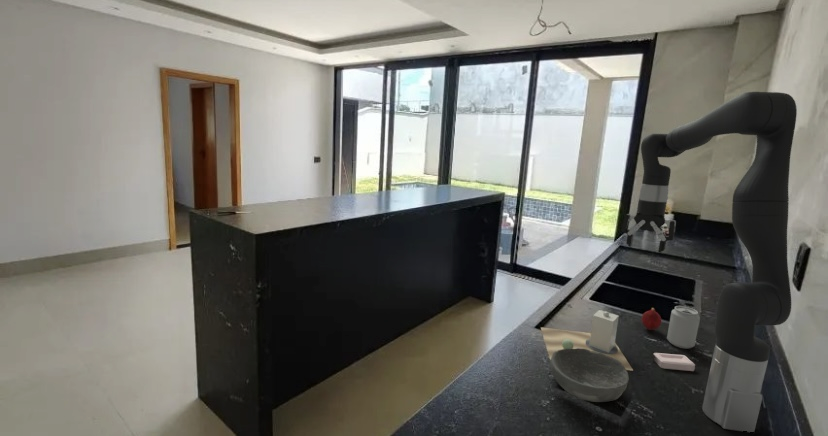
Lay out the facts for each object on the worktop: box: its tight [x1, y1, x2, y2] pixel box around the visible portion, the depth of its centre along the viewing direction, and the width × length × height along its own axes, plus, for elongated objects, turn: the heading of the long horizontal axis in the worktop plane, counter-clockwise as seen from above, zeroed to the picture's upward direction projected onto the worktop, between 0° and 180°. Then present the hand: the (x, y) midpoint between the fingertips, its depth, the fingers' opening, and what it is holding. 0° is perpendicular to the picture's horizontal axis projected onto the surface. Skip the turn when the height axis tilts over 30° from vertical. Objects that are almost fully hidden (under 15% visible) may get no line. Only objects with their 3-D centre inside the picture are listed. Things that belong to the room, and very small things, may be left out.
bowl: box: [550, 348, 630, 403], centre depth 96 cm, size 18×18×8 cm
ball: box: [562, 339, 574, 349], centre depth 114 cm, size 3×3×3 cm
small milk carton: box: [589, 309, 620, 353], centre depth 116 cm, size 6×6×11 cm
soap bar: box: [653, 352, 696, 372], centre depth 111 cm, size 5×9×2 cm, turn 84°
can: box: [666, 305, 701, 349], centre depth 122 cm, size 8×8×12 cm
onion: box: [641, 307, 662, 331], centre depth 132 cm, size 6×6×8 cm
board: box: [540, 326, 634, 372], centre depth 117 cm, size 20×22×2 cm
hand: (644, 249), depth 122 cm, fingers open, 8 cm apart
